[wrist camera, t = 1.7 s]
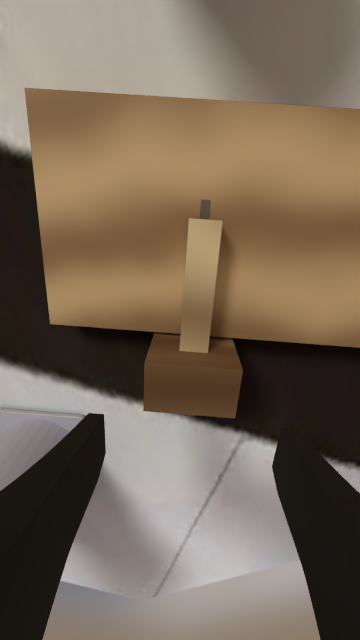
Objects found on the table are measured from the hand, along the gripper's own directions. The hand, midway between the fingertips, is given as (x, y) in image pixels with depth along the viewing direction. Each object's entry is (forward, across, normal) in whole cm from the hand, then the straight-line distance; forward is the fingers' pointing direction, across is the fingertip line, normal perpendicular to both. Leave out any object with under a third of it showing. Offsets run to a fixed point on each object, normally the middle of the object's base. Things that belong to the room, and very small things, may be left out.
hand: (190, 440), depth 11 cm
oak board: (+9, -6, -8) cm, 14 cm away
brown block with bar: (+9, 0, -3) cm, 10 cm away
